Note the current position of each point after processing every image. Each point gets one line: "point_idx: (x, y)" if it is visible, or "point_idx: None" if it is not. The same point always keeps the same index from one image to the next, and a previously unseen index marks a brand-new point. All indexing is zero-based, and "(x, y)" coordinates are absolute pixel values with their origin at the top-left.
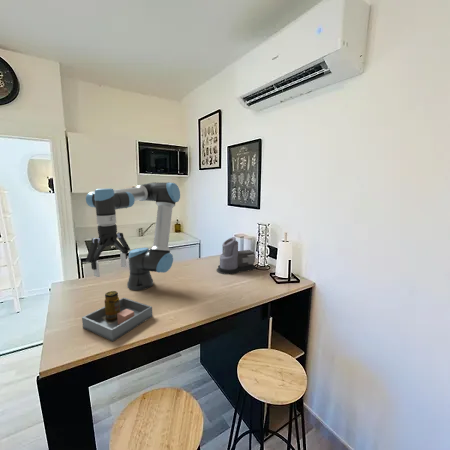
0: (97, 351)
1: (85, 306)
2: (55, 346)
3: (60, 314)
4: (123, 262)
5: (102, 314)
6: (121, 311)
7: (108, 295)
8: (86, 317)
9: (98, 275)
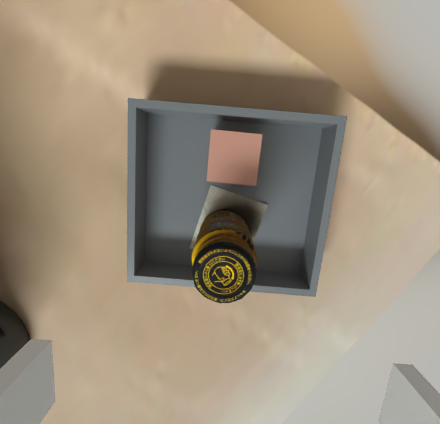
0: (381, 127)
1: (203, 379)
2: (400, 264)
3: (272, 400)
4: (5, 419)
5: None
6: (234, 182)
7: (252, 266)
8: (302, 286)
9: (422, 378)
